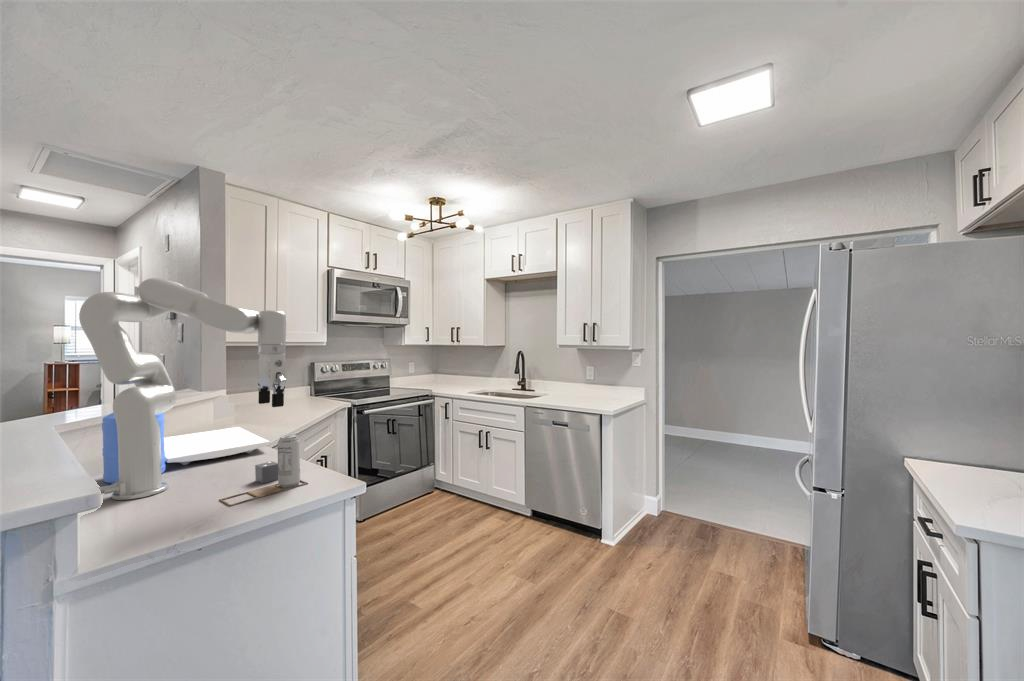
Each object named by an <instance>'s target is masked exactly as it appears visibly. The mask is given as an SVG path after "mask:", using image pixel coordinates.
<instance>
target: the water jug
mask: <svg viewBox="0 0 1024 681" xmlns="http://www.w3.org/2000/svg"><path fill="white" fill-rule="evenodd" d="M155 416H156V419H157V421H158V423H159V427H160V437H161V475H162V474H164V472H165V471H166V468H167V466H166V462H165V451H164V437H165V435H164V434H165V423H166V422H165V421H166V420H165V412H164V413H160V414H156V415H155ZM101 431H102V457H103V458H102V459H103V464H102V466H103V474H102V480H103V482H105V483H107V484H113V483H116V480H119V462H118V432H117V424H116V420H115V416H114V412H113V411H112V413H109V414H107V415H105V416H104V417H102V423H101Z"/></svg>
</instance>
